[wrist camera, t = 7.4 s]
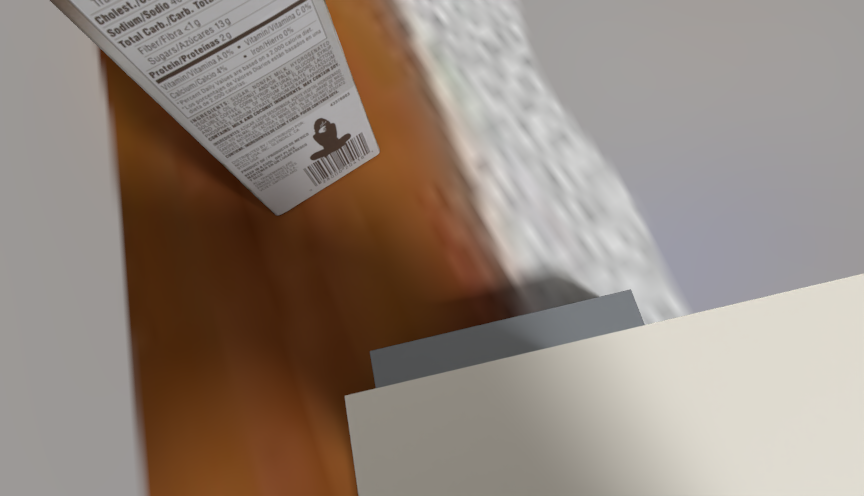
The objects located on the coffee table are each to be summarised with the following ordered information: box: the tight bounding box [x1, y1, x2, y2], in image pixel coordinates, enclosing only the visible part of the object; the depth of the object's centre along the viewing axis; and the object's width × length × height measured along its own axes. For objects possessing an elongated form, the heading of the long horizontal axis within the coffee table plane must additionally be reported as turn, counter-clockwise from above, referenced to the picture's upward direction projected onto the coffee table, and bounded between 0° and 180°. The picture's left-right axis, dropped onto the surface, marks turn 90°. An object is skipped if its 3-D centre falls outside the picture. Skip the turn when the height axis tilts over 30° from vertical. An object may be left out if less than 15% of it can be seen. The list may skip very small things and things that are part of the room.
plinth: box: [370, 290, 644, 388], centre depth 16 cm, size 10×10×2 cm
